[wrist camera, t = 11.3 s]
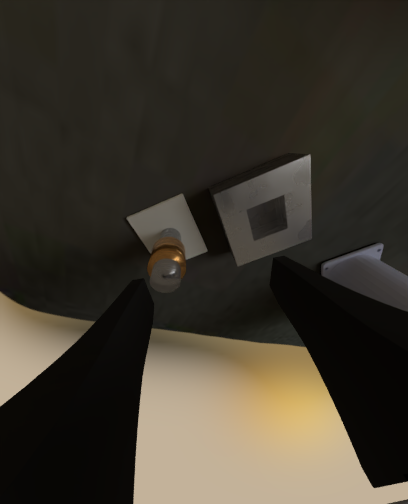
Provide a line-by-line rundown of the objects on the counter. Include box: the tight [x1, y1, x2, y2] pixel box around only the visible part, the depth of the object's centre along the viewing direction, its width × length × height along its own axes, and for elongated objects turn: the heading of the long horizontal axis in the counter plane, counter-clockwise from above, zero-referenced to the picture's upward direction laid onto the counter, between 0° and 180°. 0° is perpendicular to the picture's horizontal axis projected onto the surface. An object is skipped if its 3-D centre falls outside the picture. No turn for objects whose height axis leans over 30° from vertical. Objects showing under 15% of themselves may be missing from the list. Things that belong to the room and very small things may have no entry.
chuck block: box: [208, 153, 312, 266], centre depth 17 cm, size 8×8×3 cm
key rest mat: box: [126, 193, 208, 260], centre depth 18 cm, size 7×6×1 cm
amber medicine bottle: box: [147, 228, 186, 293], centre depth 15 cm, size 3×3×7 cm
